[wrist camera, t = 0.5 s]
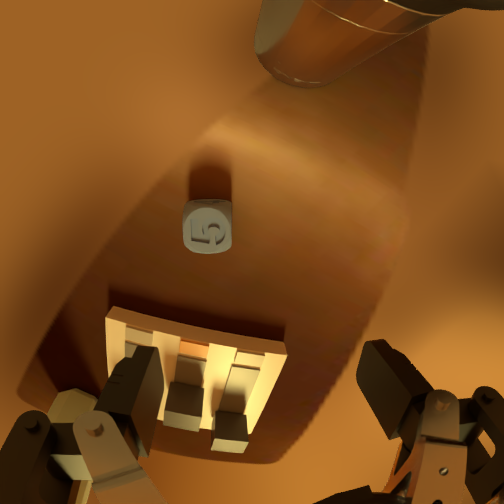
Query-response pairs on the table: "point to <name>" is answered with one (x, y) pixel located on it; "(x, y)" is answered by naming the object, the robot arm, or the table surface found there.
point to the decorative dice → (207, 225)
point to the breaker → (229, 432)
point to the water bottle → (67, 411)
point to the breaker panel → (201, 361)
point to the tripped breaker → (184, 406)
